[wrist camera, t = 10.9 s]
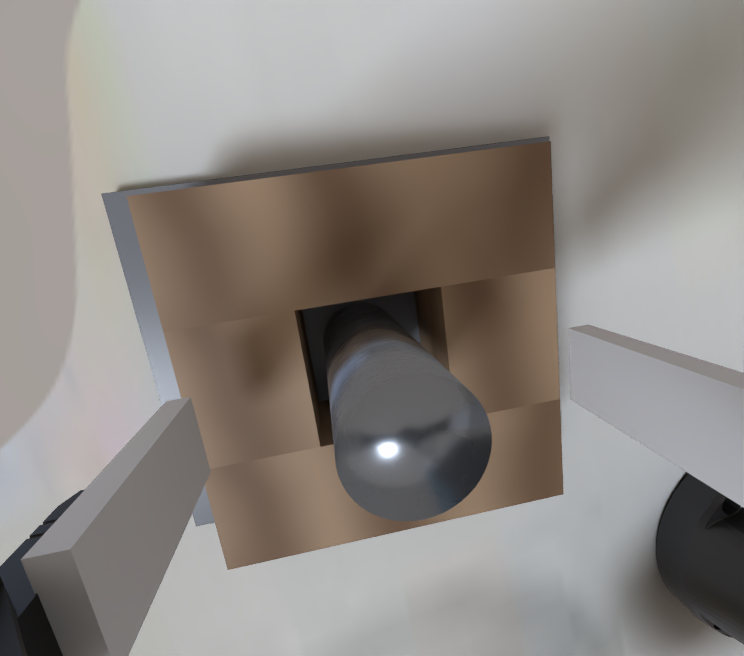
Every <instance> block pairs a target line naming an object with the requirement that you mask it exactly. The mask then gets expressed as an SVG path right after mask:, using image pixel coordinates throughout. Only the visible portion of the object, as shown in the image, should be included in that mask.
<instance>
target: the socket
mask: <svg viewBox="0 0 744 656" xmlns="http://www.w3.org/2000/svg"><path fill="white" fill-rule="evenodd" d="M102 198H103V201H104V205H105V208H106V212H107V215H108V219H109V222H110V226H111V229H112V233H113V236H114V240H115V243H116V247H117V250H118V254H119V257H120V261H121V264H122V268H123V271H124V275H125V278H126V282H127V285H128V289H129V292H130V296H131V300H132V303H133V307H134V310H135V314H136V317H137V321H138V324H139V328H140V331H141V335H142V338H143V342H144V345H145V349H146V352H147V356H148V359H149V363H150V366H151V370H152V373H153V377H154V380H155V384H156V387H157V391H158V394H159V398H160V401H161V405H163V404H164V403H165V402H166V401H170V400H175V399H181V398H186V397H191V399H192V403H193V407H194V410H195V414H196V418H197V422H198V425H199V429H200V433H201V437H202V441H203V444H204V448H205V452H206V456H207V459H208V463H209V467H210V471H211V472H210V475H209V477H208V479H207V481H206V483H205V486H204V488H203V490H202V492H201V495H200V497H199V499H198V501H197V504H196V506H195V508H194V510H193V512H192V513H193V517H194V520H195V524H196V526H200V525H205V524H209V523H214V522H215V524H216V528H217V532H218V535H219V539H220V543H221V546H222V550H223V554H224V558H225V561H226V565H227V569H228V570H230V569H234V568H238V567H243V566H247V565H252V564H256V563H261V562H265V561H269V560H274V559H278V558H283V557H287V556H292V555H296V554H300V553H305V552H309V551H314V550H318V549H323V548H327V547H331V546H336V545H340V544H345V543H349V542H354V541H358V540H362V539H367V538H371V537H376V536H380V535H385V534H389V533H393V532H398V531H402V530H407V529H411V528H415V527H420V526H424V525H429V524H433V523H438V522H442V521H446V520H451V519H455V518H460V517H464V516H469V515H473V514H477V513H482V512H486V511H491V510H495V509H500V508H504V507H508V506H513V505H517V504H522V503H526V502H531V501H535V500H539V499H544V498H548V497H553V496H557V495H562V494H563V471H562V444H561V416H560V389H559V361H558V334H557V306H556V279H555V252H554V224H553V197H552V169H551V142H550V141H549V136H548V137H540V138H533V139H525V140H517V141H509V142H501V143H494V144H486V145H478V146H470V147H462V148H454V149H447V150H439V151H431V152H423V153H415V154H408V155H400V156H392V157H384V158H376V159H369V160H361V161H353V162H345V163H337V164H330V165H322V166H314V167H306V168H298V169H291V170H283V171H275V172H267V173H259V174H251V175H244V176H236V177H228V178H220V179H212V180H205V181H197V182H189V183H181V184H173V185H166V186H158V187H150V188H142V189H134V190H127V191H119V192H111V193H103V194H102ZM356 303H367V304H372V305H375V306H377V307H379V308H381V309H383V310H384V311H385V312H386V313H387V314H388V315H390V316H391V317H392V318H393V319H394V320H395V321H396V322H397V323H398V324H399V325H400V326H401V327H402V328H403V329H405V330H406V331H407V332H408V333H409V334H410V335H411V336H412V337H413V338H414V339H415V340H416V341H417V342H418V343H419V344H421V345H422V346H423V347H424V348H425V349H426V350H427V351H428V352H429V353H430V354H431V355H432V356H433V357H434V358H435V359H437V360H438V361H439V362H440V363H441V364H442V365H443V366H444V367H445V368H446V369H447V370H448V371H449V372H450V373H452V374H453V375H454V376H455V377H456V378H457V379H458V380H459V381H460V382H461V383H462V384H463V385H464V386H465V387H466V388H468V389H469V390H470V391H471V392H472V393H473V394H474V395H475V397H476V398H477V399H478V400H479V401H480V403H481V404H482V406H483V407H484V410H485V412H486V414H487V416H488V419H489V422H490V426H491V433H492V447H491V454H490V458H489V462H488V465H487V467H486V470H485V472H484V474H483V476H482V478H481V480H480V481H479V482H478V484H477V485H476V487H475V488H474V489H473V490H472V491H471V493H470V494H469V495H468V496H467V497H466V498H465V499H463V500H462V501H461V502H460V503H458V504H457V505H456V506H454V507H453V508H451V509H449V510H448V511H446V512H444V513H442V514H439V515H437V516H434V517H431V518H427V519H423V520H417V521H394V520H389V519H385V518H382V517H379V516H376V515H374V514H372V513H370V512H368V511H366V510H365V509H363V508H362V507H360V506H359V505H358V504H357V503H356V502H355V501H354V500H353V499H352V498H351V497H350V496H349V495H348V493H347V492H346V490H345V489H344V487H343V485H342V483H341V481H340V479H339V476H338V473H337V469H336V463H335V453H334V443H333V433H332V422H331V412H330V402H329V391H328V381H327V371H326V360H325V350H324V333H325V329H326V326H327V324H328V322H329V321H330V319H331V318H332V317H333V315H334V314H335V313H337V312H338V311H339V310H340V309H342V308H344V307H346V306H348V305H351V304H356Z"/></svg>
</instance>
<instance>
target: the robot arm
mask: <svg viewBox="0 0 744 656" xmlns="http://www.w3.org/2000/svg"><path fill="white" fill-rule="evenodd" d="M568 329H569V363H570V396H571V400H572V401H574V402H575V403H577V404H579V405H580V406H582V407H583V408H585V409H587V410H588V411H590V412H591V413H593V414H595V415H596V416H598V417H599V418H601V419H603V420H604V421H606V422H607V423H609V424H611V425H612V426H614V427H615V428H617V429H619V430H620V431H622V432H623V433H625V434H627V435H628V436H630V437H631V438H633V439H635V440H636V441H638V442H639V443H641V444H643V445H644V446H646V447H647V448H649V449H651V450H652V451H654V452H655V453H657V454H659V455H660V456H662V457H663V458H665V459H667V460H668V461H670V462H671V463H673V464H675V465H676V466H678V467H679V468H681V469H683V470H684V471H686V472H687V473H689V474H688V475H687V476H686V477H685V478H684V479H683V481H682V482H681V483H680V485H679V486H678V488H677V489H676V490H675V492H674V494H673V495H672V497H671V499H670V501H669V503H668V504H667V507H666V509H665V511H664V513H663V516H662V519H661V522H660V525H659V530H658V534H657V542H656V556H657V563H658V568H659V571H660V574H661V576H662V579H663V581H664V582H665V584H666V586H667V587H668V588H669V590H670V591H671V592H672V593H673V594H674V595H675V596H676V597H677V598H678V599H679V600H680V601H681V602H682V603H683V604H684V605H685V606H686V607H687V608H688V609H689V610H690V611H691V612H692V613H693V614H694V615H695V616H697V617H698V618H699V619H700V620H701V621H703V622H704V623H705V624H706V625H708V626H709V627H711V628H713V629H715V630H716V631H718V632H720V633H722V634H724V635H726V636H729V637H732V638H735V639H736V640H738V641H739V642H741V643H742V644H744V373H742V372H739V371H736V370H733V369H729V368H726V367H723V366H720V365H717V364H713V363H710V362H707V361H704V360H700V359H697V358H694V357H691V356H688V355H684V354H681V353H678V352H675V351H671V350H668V349H665V348H662V347H659V346H655V345H652V344H649V343H646V342H642V341H639V340H636V339H633V338H630V337H626V336H623V335H620V334H617V333H614V332H610V331H607V330H604V329H601V328H597V327H594V326H591V325H584V326H578V327H573V328H568ZM210 472H211V471H210V467H209V463H208V459H207V456H206V452H205V448H204V444H203V441H202V437H201V433H200V429H199V425H198V422H197V418H196V414H195V410H194V407H193V403H192V399H191V397H186V398H181V399H175V400H170V401H166V402H165V403H164V404H163V405H162V406H161V408H160V409H159V410H158V411H157V412H156V413H155V414H154V415H153V416H152V417H151V418H150V419H149V421H148V422H147V423H146V424H145V425H144V426H143V427H142V428H141V429H140V430H139V431H138V433H137V434H136V435H135V436H134V437H133V438H132V439H131V440H130V441H129V442H128V443H127V444H126V446H125V447H124V448H123V449H122V450H121V451H120V452H119V453H118V454H117V455H116V456H115V458H114V459H113V460H112V461H111V462H110V463H109V464H108V465H107V466H106V467H105V468H104V469H103V471H102V472H101V473H100V474H99V475H98V476H97V477H96V478H95V479H94V480H93V481H92V483H91V484H90V485H89V486H88V487H87V488H86V489H85V490H81V491H79V492H78V493H76V494H75V495H73V496H72V497H71V498H69V499H68V500H66V501H65V502H63V503H62V504H61V505H59V506H58V507H57V508H56V509H55V510H54V511H53V512H52V513H51V514H50V515H49V516H48V517H47V518H46V519H45V521H44V522H43V525H40V526H39V527H38V528H37V529H36V530H35V531H34V532H33V533H32V534H31V535H30V539H26V540H25V541H24V542H23V543H22V544H21V545H20V546H19V548H18V549H17V550H16V551H15V552H14V553H13V554H12V555H11V556H10V557H9V558H8V559H7V560H6V561H5V562H4V563H3V564H2V565H1V566H0V656H128V655H129V653H130V651H131V648H132V646H133V644H134V642H135V640H136V637H137V635H138V633H139V631H140V628H141V626H142V624H143V622H144V619H145V617H146V615H147V613H148V611H149V608H150V606H151V604H152V602H153V599H154V597H155V595H156V593H157V590H158V588H159V586H160V584H161V582H162V579H163V577H164V575H165V573H166V570H167V568H168V566H169V564H170V562H171V559H172V557H173V555H174V553H175V550H176V548H177V546H178V544H179V541H180V539H181V537H182V535H183V533H184V530H185V528H186V526H187V524H188V521H189V519H190V517H191V515H192V512H193V510H194V508H195V506H196V504H197V501H198V499H199V497H200V495H201V492H202V490H203V488H204V486H205V483H206V481H207V479H208V477H209V475H210Z"/></svg>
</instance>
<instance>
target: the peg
mask: <svg viewBox="0 0 744 656" xmlns="http://www.w3.org/2000/svg"><path fill="white" fill-rule="evenodd" d="M324 350H325V360H326V371H327V381H328V391H329V402H330V412H331V422H332V433H333V443H334V453H335V463H336V469H337V473H338V476H339V479H340V481H341V483H342V485H343V487H344V489H345V490H346V492H347V493H348V495H349V496H350V497H351V498H352V499H353V500H354V501H355V502H356V503H357V504H358V505H359V506H360V507H362V508H363V509H365V510H366V511H368V512H370V513H372V514H374V515H376V516H379V517H382V518H385V519H389V520H394V521H417V520H423V519H427V518H431V517H434V516H437V515H439V514H442V513H444V512H446V511H448V510H449V509H451V508H453V507H454V506H456V505H457V504H458V503H460V502H461V501H462V500H463V499H465V498H466V497H467V496H468V495H469V494H470V493H471V491H472V490H473V489H474V488H475V487H476V485H477V484H478V482H479V481H480V480H481V478H482V476H483V474H484V472H485V470H486V467H487V465H488V462H489V458H490V454H491V447H492V433H491V426H490V422H489V419H488V416H487V414H486V412H485V410H484V407H483V406H482V404H481V403H480V401H479V400H478V399H477V398H476V397H475V395H474V394H473V393H472V392H471V391H470V390H469V389H468V388H466V387H465V386H464V385H463V384H462V383H461V382H460V381H459V380H458V379H457V378H456V377H455V376H454V375H453V374H452V373H450V372H449V371H448V370H447V369H446V368H445V367H444V366H443V365H442V364H441V363H440V362H439V361H438V360H437V359H435V358H434V357H433V356H432V355H431V354H430V353H429V352H428V351H427V350H426V349H425V348H424V347H423V346H422V345H421V344H419V343H418V342H417V341H416V340H415V339H414V338H413V337H412V336H411V335H410V334H409V333H408V332H407V331H406V330H405V329H403V328H402V327H401V326H400V325H399V324H398V323H397V322H396V321H395V320H394V319H393V318H392V317H391V316H390V315H388V314H387V313H386V312H385V311H384V310H383V309H381V308H379V307H377V306H375V305H372V304H367V303H356V304H351V305H348V306H346V307H344V308H342V309H340V310H339V311H338V312H337V313H335V314H334V315H333V317H332V318H331V319H330V321H329V322H328V324H327V326H326V329H325V333H324Z"/></svg>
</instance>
